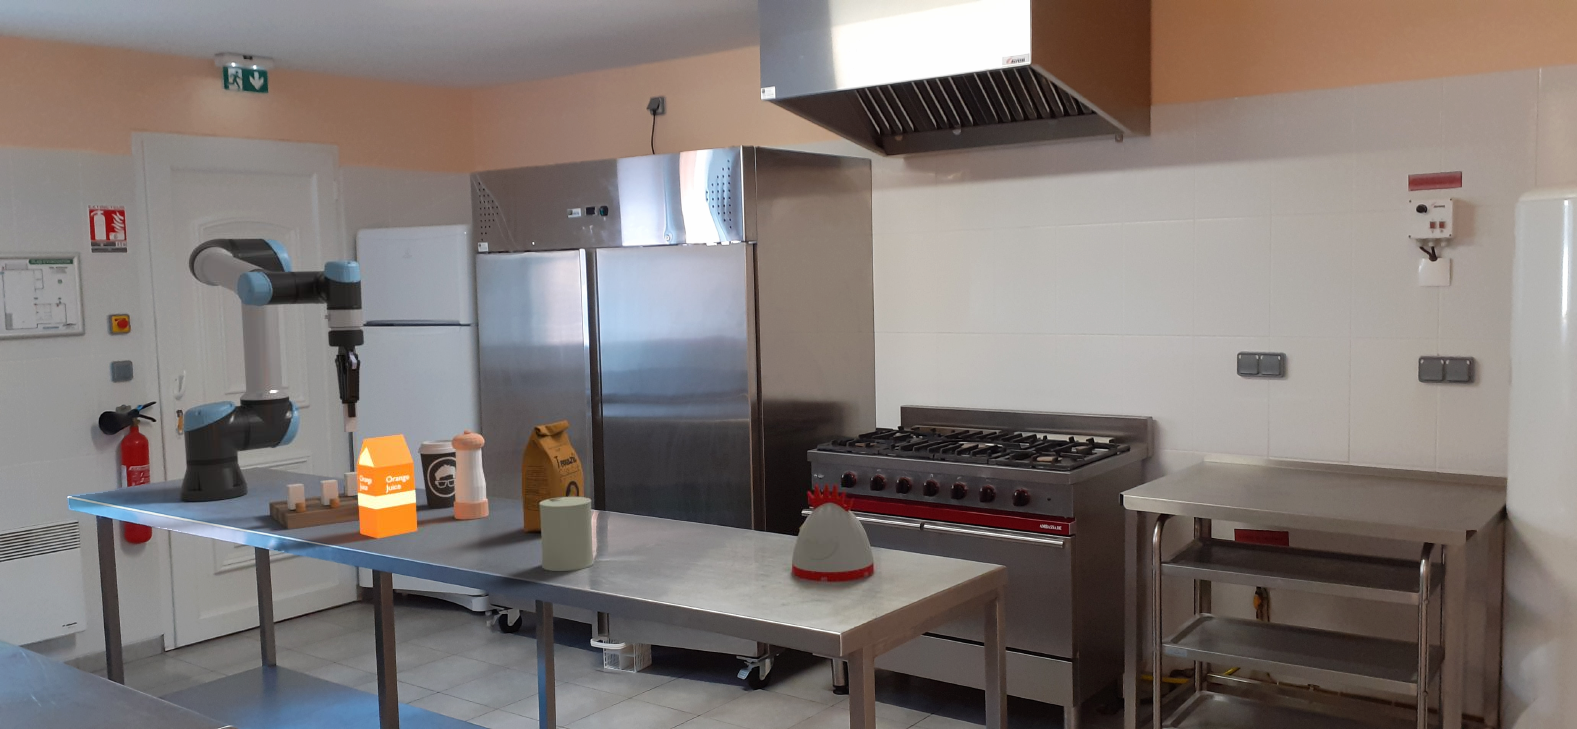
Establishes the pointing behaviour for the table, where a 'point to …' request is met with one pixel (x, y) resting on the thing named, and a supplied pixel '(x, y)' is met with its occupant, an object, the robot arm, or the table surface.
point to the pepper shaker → (469, 477)
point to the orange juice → (386, 487)
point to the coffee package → (548, 471)
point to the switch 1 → (295, 495)
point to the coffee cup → (439, 472)
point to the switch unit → (316, 511)
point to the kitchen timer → (832, 541)
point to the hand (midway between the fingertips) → (351, 431)
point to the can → (566, 533)
